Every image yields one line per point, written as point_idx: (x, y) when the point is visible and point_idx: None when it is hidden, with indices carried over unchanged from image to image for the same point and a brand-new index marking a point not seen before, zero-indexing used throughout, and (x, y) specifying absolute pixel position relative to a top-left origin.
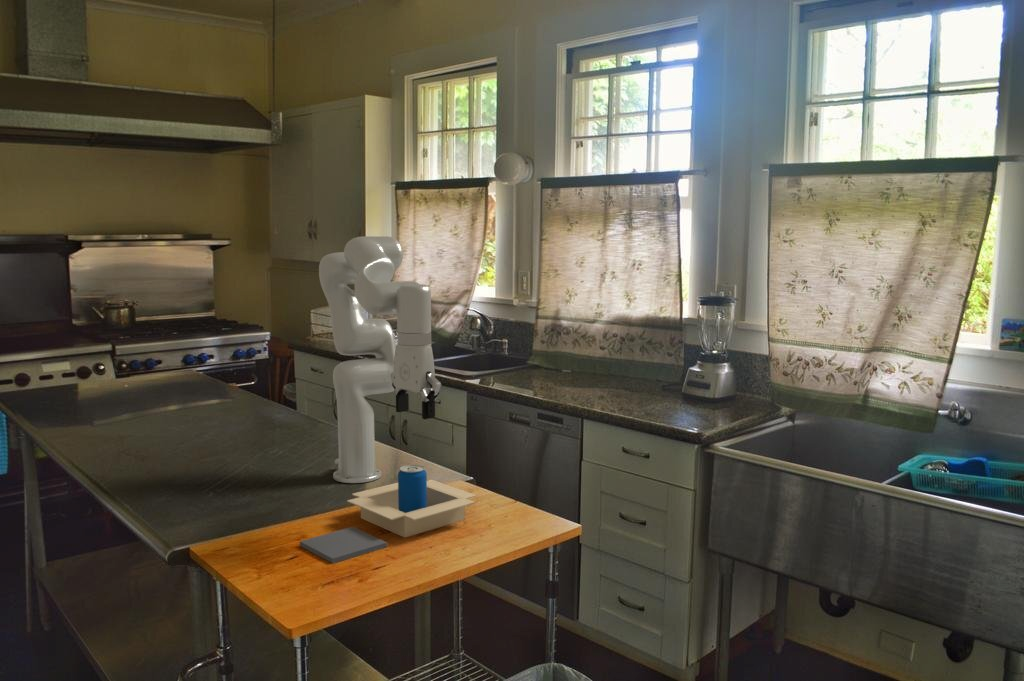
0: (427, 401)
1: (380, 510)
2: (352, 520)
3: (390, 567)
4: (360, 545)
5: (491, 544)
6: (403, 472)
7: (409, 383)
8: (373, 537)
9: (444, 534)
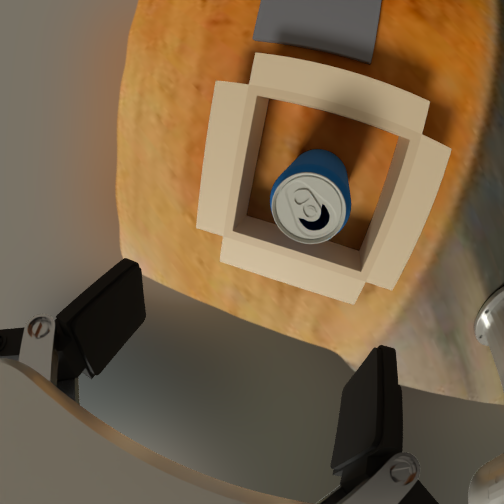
0: (45, 319)
1: (315, 77)
2: None
3: (193, 2)
4: (280, 5)
5: (143, 155)
6: (313, 172)
7: (35, 470)
8: (291, 40)
9: None
